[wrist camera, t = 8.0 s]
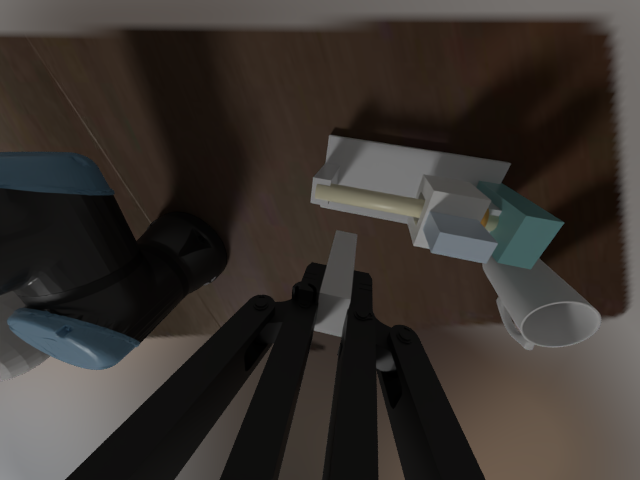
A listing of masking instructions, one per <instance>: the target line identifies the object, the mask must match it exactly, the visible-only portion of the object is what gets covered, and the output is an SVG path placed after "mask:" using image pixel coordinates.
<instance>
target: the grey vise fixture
mask: <svg viewBox="0 0 640 480" xmlns="http://www.w3.org/2000/svg"><path fill="white" fill-rule="evenodd" d="M510 165H511V163H508V162H504V161H498V160H491V159H485V158H479V157H472V156H466V155H459V154H453V153H446V152H440V151H433V150H427V149H420V148H414V147H407V146H401V145H395V144H388V143H382V142H375V141H369V140H362V139H356V138H349V137H343V136H336V135H329V141H328V149H327V157H326V163H325V164H324V166H323V167H322V168H321V169H320V170H319V171H318V172H317V174H316V175H315V176H314V177H313V185H312V194H311V203H314V204H319V205H320V207H323V208H328V209H334V210H339V211H344V212H349V213H354V214H360V215H365V216H370V217H375V218H380V219H386V220H391V221H396V222H401V223H406V224H408V223H407V220H408V217H409V216H411V217H416V218H419V217H420V214H421V212H422V209H423V206H424V203H425V201H426V200H422V199H416V198H415V197H416V194H417V191H418V188H419V185H420V182H421V179H422V176H423V174H425V175H431V176H437V177H443V178H449V179H455V180H461V181H466V182H470V183H471V184H472V185H474V186H475V187H476V188H477V189H478V190H480V191H481V192H482V193H483V194H484V195H486V196H487V197H488V198H489V199H490V200H492V201H491V203H490V205H489V207H488V209H487V211H486V213H485V214H484V216H483V218H482V220H481V222H480V223H481V224H482V225H483V226H484V228H485V229H486V230H487V231H488V232H489V233H490V234H491V236H492V237H493V238H494V239H495V240H496V241H497V242H498V245H497V246H496V248H495V250H494V251H493V253H492V257H493V258H494V259H495V261H496V262H497V263H501V264H506V265H511V266H516V267H521V268H526V269H531V268H532V267H533V266H534V264H535V263H536V262H537V260H538V259H539V257H540V256H541V255H542V253H543V252H544V250H545V249H546V248H547V246H548V245H549V244H550V242H551V241H552V239H553V238H554V237H555V235H556V234H557V232H558V231H559V230H560V228H561V227H562V226H563V224H564V222H563V221H561V220H560V219H558V218H556V217H555V216H553V215H552V214H550V213H549V212H547V211H545V210H544V209H542V208H541V207H539V206H537V205H536V204H534V203H533V202H531V201H529V200H528V199H526V198H525V197H523V196H522V195H520V194H518V193H517V192H515V191H514V190H512V189H510V188H509V187H507V186H506V185H504V184H502V183H501V182H502V180H503V178H504V176H505V175H506V173H507V171H508V169H509V167H510Z"/></svg>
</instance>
